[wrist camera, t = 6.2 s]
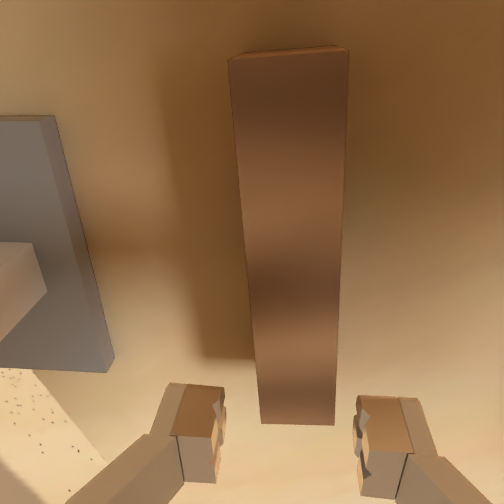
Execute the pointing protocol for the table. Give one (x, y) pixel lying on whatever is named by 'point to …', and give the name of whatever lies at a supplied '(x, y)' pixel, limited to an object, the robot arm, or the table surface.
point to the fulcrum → (45, 258)
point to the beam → (292, 221)
